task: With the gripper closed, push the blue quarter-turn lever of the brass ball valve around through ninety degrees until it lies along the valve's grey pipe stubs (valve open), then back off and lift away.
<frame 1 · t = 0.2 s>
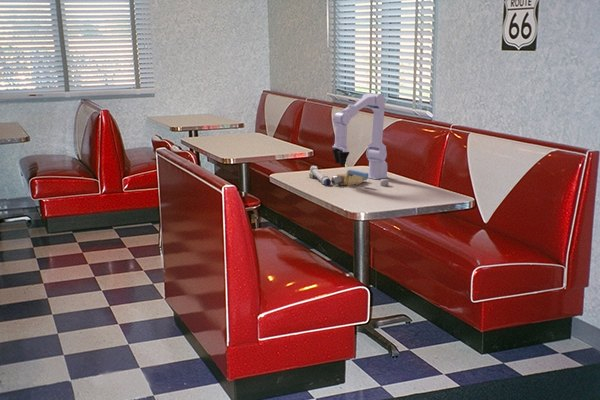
hand: (340, 164, 364), 10 cm above the table, tool pointing down, fingers open, 7 cm apart
lever: (357, 173, 363), point 6 cm above the table, hinge at 0.0°
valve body: (349, 183, 369), on the table
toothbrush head: (319, 181, 374), on the table
pvc end cap: (384, 185, 365), on the table
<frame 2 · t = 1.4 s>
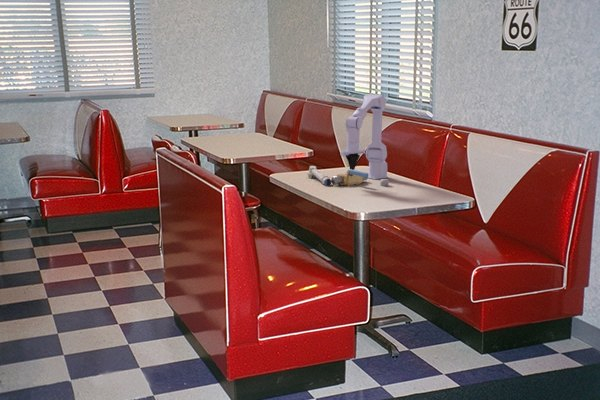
hand: (352, 169, 359), 9 cm above the table, tool pointing down, fingers closed
nothing on the table moved.
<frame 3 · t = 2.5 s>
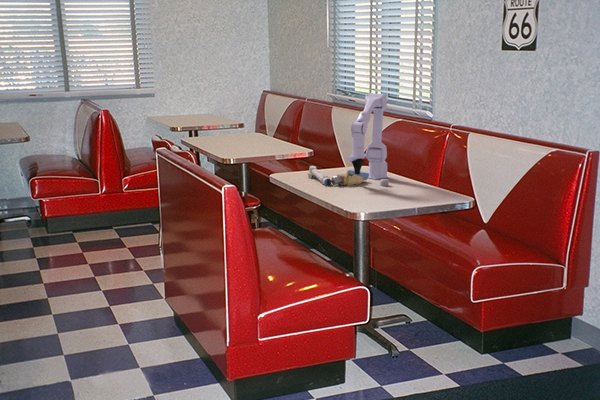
hand: (357, 174, 361), 6 cm above the table, tool pointing down, fingers closed, pressing on lever
lever: (357, 173, 363), point 6 cm above the table, hinge at 1.5°, touching gripper
everything else where it was.
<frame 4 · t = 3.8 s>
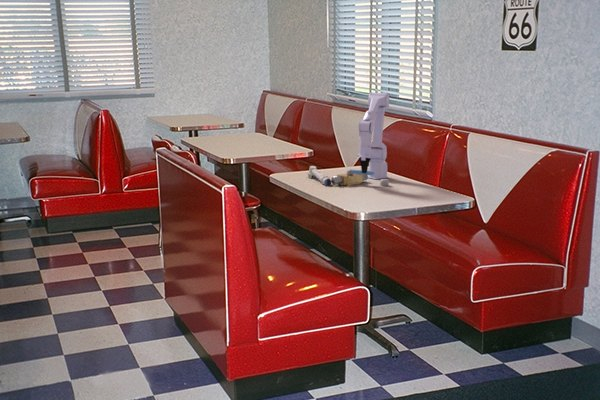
hand: (364, 172, 364), 6 cm above the table, tool pointing down, fingers closed, pressing on lever
lever: (360, 172, 366), point 6 cm above the table, hinge at 35.3°, touching gripper
everything else where it was.
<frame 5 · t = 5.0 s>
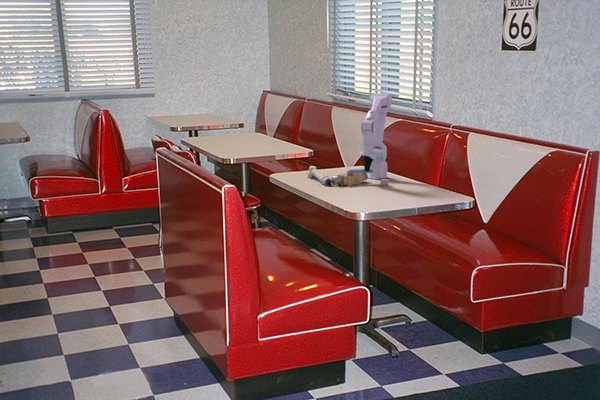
hand: (367, 171, 368), 6 cm above the table, tool pointing down, fingers closed, pressing on lever
lever: (359, 171, 369), point 6 cm above the table, hinge at 68.3°, touching gripper
everything else where it was.
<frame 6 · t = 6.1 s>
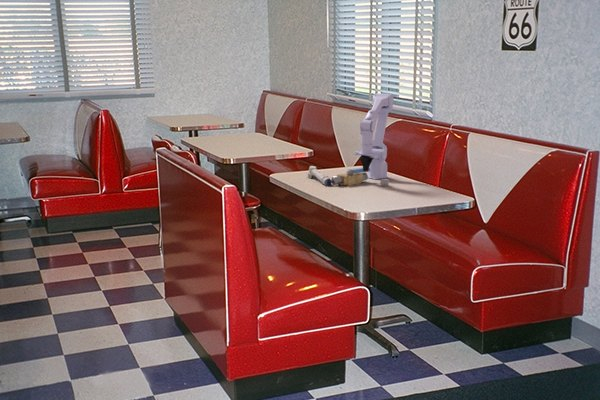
hand: (365, 170, 370), 6 cm above the table, tool pointing down, fingers closed
lever: (358, 171, 370), point 6 cm above the table, hinge at 85.9°
everything else where it was.
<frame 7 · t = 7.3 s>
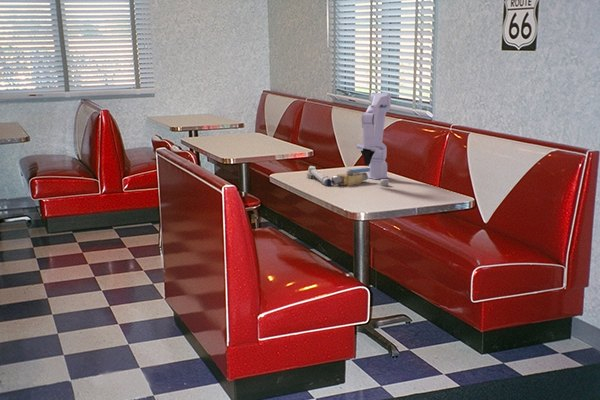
hand: (367, 164, 366), 10 cm above the table, tool pointing down, fingers closed
nothing on the table moved.
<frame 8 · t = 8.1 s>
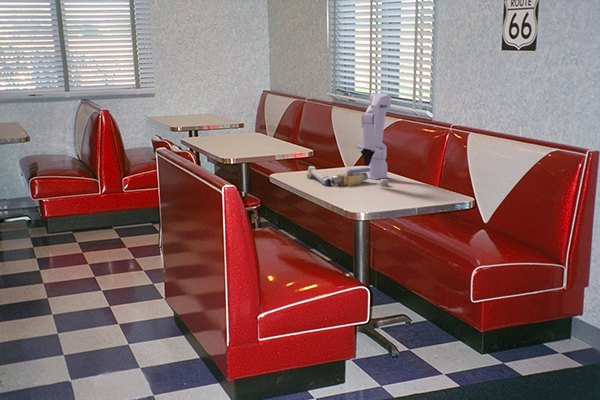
hand: (367, 164, 366), 10 cm above the table, tool pointing down, fingers closed
nothing on the table moved.
at the end: lever at +86° (first picture: +0°); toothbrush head moved 1.0 cm from its start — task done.
